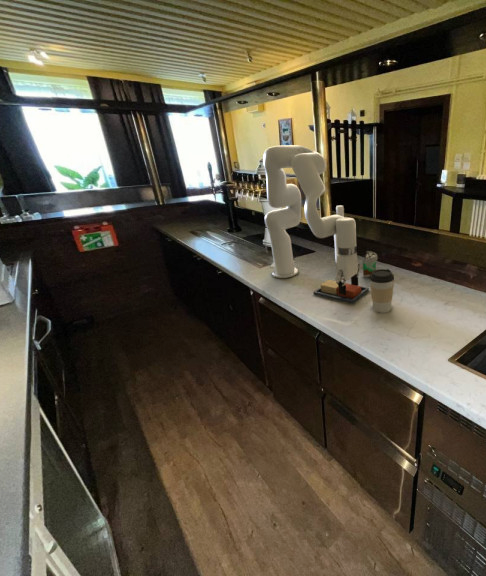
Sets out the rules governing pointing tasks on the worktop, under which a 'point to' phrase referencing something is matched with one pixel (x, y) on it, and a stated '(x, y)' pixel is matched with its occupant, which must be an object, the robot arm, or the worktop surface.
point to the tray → (341, 298)
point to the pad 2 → (351, 291)
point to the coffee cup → (382, 289)
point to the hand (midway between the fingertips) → (348, 289)
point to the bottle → (339, 212)
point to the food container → (369, 263)
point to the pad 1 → (329, 287)
